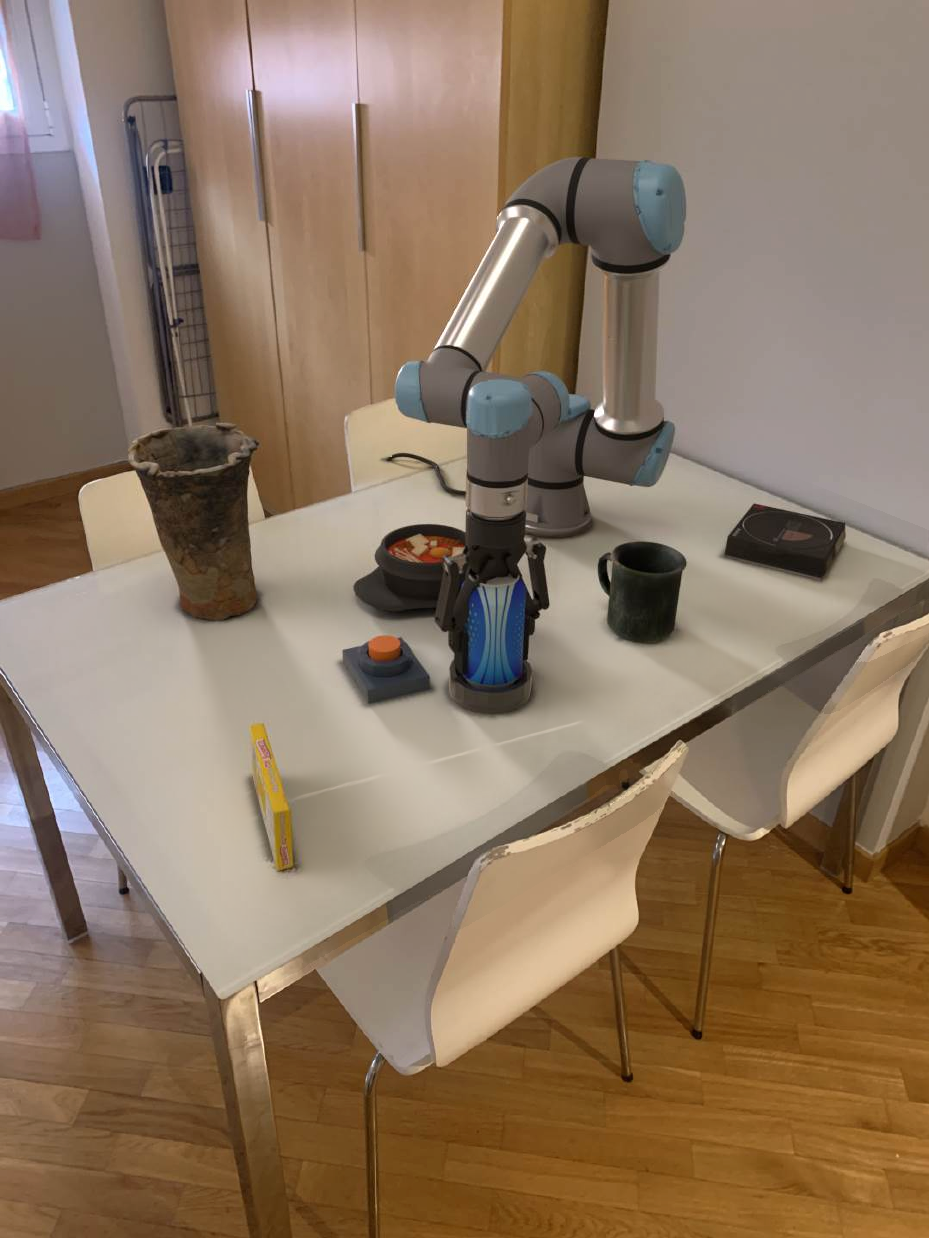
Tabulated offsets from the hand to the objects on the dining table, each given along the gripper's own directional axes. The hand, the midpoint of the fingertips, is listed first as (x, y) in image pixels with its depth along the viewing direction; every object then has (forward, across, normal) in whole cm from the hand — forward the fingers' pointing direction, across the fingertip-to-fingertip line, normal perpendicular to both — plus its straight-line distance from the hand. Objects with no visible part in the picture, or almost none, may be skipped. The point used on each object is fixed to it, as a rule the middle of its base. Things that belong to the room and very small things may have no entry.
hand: (491, 662), depth 132 cm
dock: (+5, 0, 0) cm, 5 cm away
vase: (+5, -30, +39) cm, 49 cm away
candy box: (+5, -34, -14) cm, 37 cm away
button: (+1, -12, +9) cm, 15 cm away
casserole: (+5, +3, +30) cm, 30 cm away
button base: (+5, -12, +9) cm, 16 cm away
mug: (+5, +28, +8) cm, 29 cm away
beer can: (+3, 0, 0) cm, 3 cm away
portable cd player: (+5, +67, +19) cm, 70 cm away
